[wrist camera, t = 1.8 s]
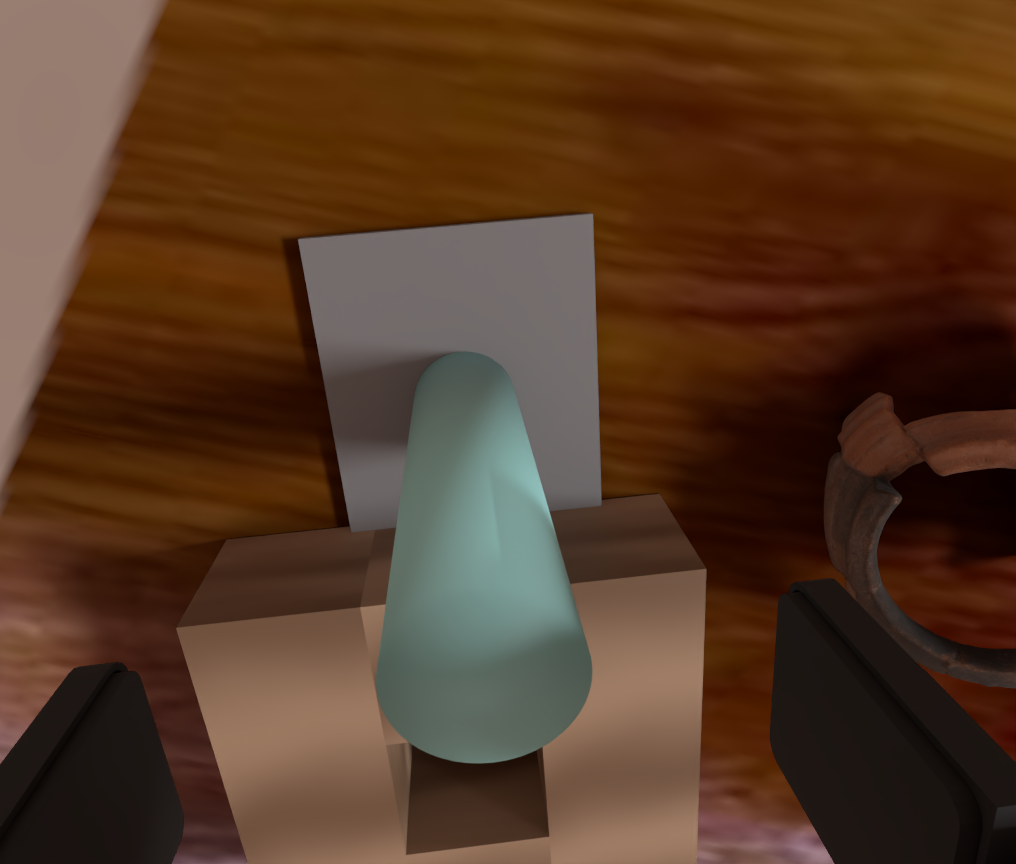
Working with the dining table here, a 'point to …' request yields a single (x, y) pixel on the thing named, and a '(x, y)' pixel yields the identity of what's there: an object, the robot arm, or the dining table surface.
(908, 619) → the brown hollow rounded piece
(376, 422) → the mat
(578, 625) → the peg
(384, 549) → the hole block
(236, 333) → the dining table surface
